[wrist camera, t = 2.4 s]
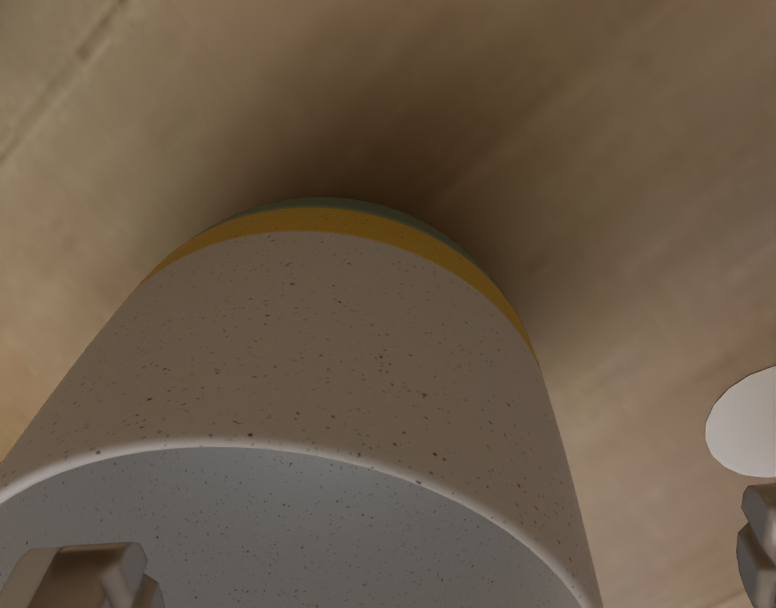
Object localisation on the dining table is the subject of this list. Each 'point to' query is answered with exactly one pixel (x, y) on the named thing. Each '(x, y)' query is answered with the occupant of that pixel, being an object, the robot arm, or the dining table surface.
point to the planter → (310, 427)
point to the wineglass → (746, 426)
